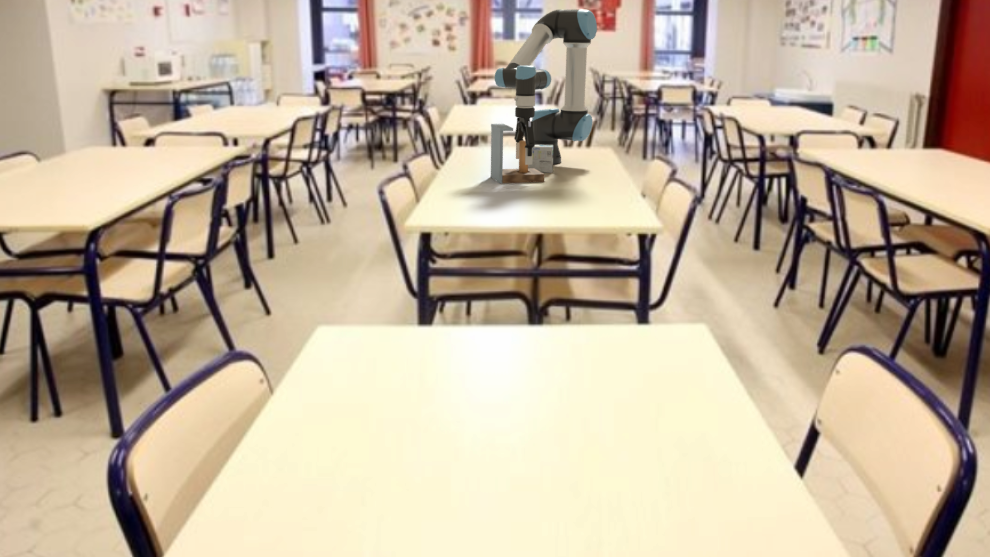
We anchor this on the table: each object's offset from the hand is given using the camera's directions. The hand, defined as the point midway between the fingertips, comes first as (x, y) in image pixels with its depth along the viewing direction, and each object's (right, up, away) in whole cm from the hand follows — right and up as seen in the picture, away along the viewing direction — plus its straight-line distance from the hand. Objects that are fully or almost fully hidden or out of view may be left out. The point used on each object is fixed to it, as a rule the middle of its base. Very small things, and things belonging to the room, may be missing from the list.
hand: (523, 161), depth 328 cm
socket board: (-2, -7, +1) cm, 7 cm away
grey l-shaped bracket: (-9, -7, 0) cm, 12 cm away
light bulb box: (+7, -1, +21) cm, 22 cm away
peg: (0, -7, +2) cm, 7 cm away
